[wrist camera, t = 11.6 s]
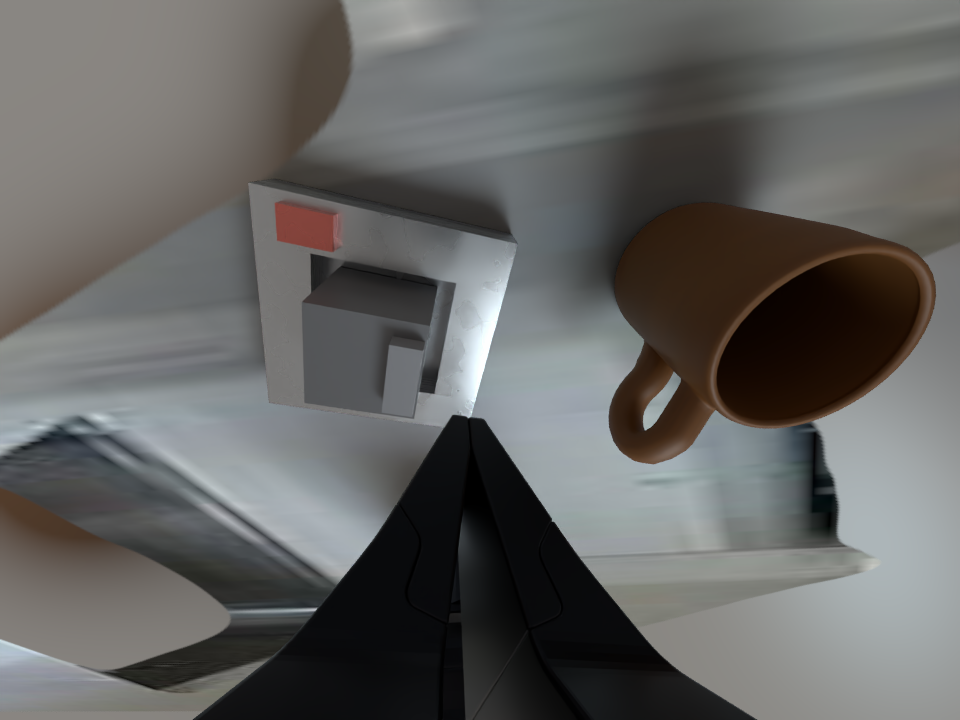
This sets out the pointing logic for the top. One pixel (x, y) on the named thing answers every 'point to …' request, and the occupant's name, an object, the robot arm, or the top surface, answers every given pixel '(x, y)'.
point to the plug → (366, 342)
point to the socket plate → (387, 252)
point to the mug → (759, 321)
